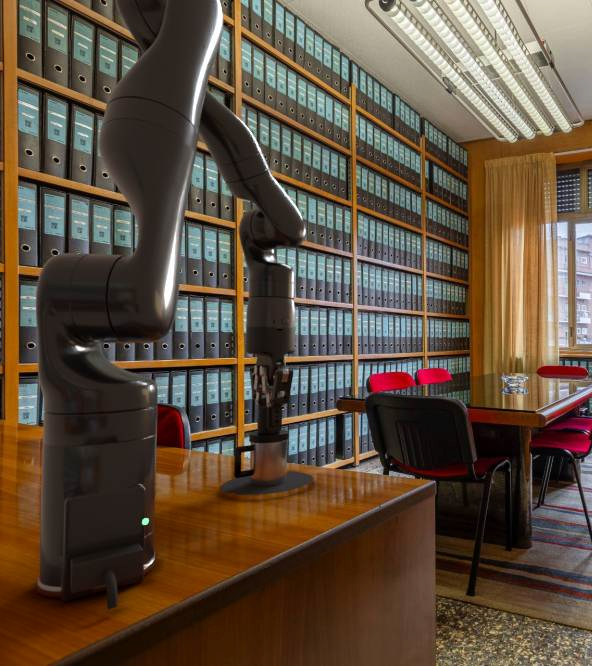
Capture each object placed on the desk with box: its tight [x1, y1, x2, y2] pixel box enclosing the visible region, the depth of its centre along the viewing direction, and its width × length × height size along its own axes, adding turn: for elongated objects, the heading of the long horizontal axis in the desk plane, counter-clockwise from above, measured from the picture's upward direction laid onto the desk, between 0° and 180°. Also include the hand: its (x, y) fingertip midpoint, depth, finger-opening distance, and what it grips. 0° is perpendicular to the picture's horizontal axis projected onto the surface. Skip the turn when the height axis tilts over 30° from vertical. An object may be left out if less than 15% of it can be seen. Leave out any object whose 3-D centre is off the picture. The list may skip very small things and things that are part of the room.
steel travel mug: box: [233, 405, 290, 487], centre depth 82 cm, size 8×6×13 cm
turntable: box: [220, 470, 314, 496], centre depth 83 cm, size 14×14×1 cm
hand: (269, 427), depth 83 cm, fingers closed on steel travel mug, 3 cm apart
